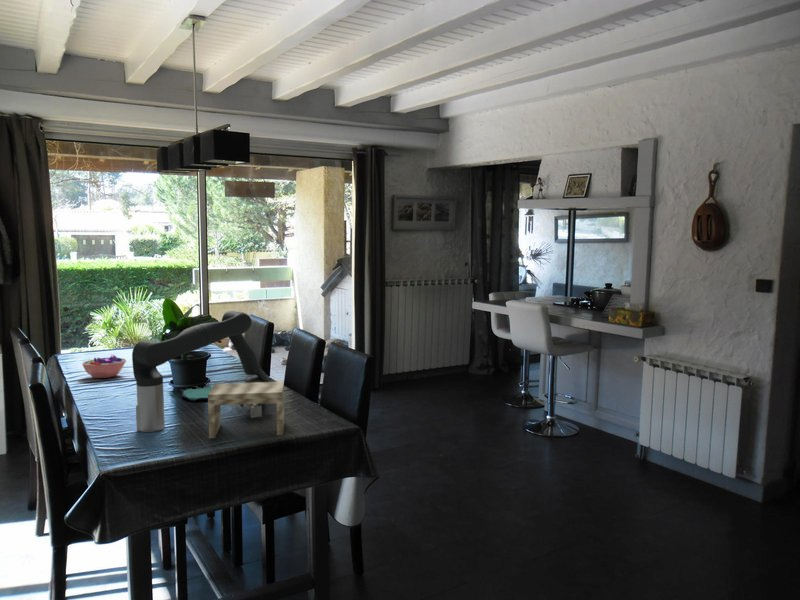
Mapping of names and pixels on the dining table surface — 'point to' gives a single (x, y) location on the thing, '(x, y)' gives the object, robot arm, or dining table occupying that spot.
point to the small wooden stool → (244, 400)
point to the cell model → (104, 366)
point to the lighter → (254, 410)
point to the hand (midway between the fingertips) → (250, 404)
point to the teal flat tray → (197, 393)
